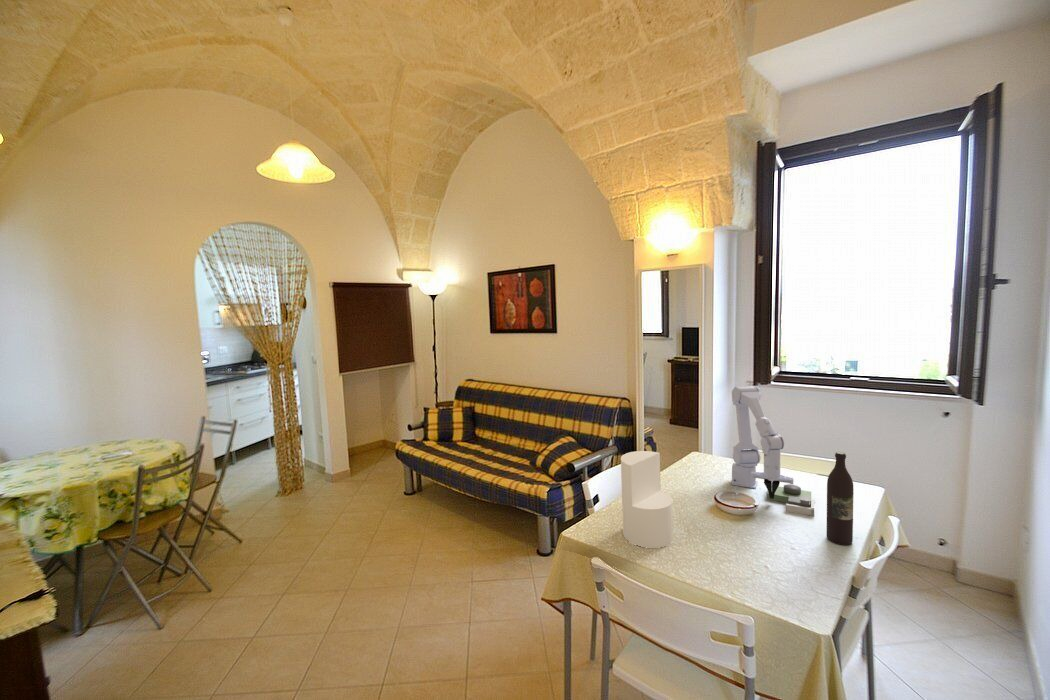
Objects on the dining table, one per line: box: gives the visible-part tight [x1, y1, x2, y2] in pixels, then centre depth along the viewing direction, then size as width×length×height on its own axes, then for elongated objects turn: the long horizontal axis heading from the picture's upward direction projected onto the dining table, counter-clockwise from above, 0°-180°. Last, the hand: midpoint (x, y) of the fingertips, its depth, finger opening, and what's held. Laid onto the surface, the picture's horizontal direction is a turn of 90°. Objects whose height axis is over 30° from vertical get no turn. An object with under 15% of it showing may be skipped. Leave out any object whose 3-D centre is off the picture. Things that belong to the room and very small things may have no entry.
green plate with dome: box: [766, 483, 815, 517], centre depth 171 cm, size 16×17×4 cm
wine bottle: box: [826, 451, 854, 546], centre depth 142 cm, size 7×7×30 cm
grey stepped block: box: [787, 495, 811, 508], centre depth 166 cm, size 7×5×5 cm
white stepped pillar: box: [620, 450, 675, 549], centre depth 151 cm, size 17×17×28 cm
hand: (771, 497), depth 171 cm, fingers closed
